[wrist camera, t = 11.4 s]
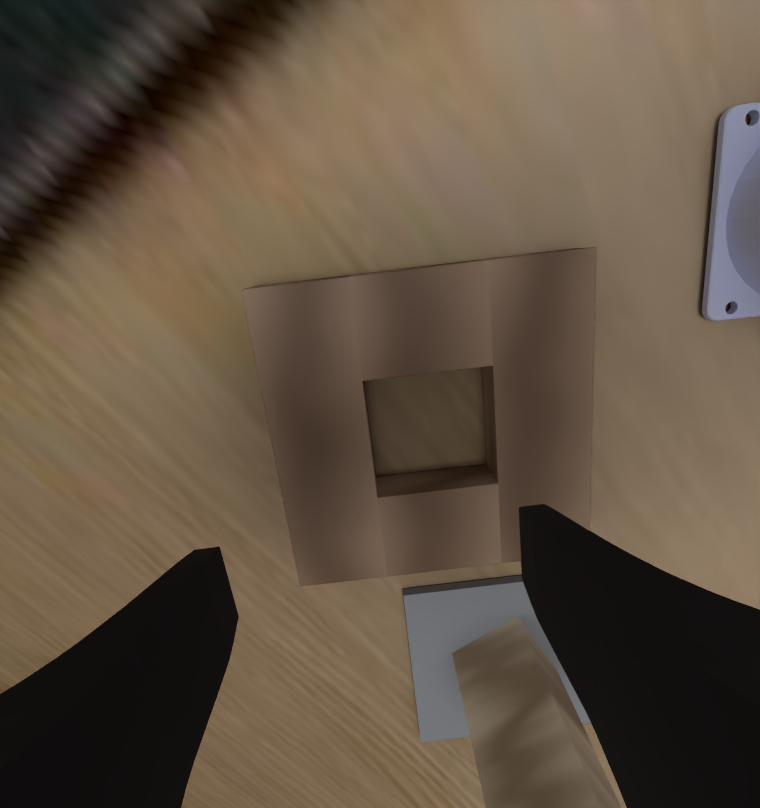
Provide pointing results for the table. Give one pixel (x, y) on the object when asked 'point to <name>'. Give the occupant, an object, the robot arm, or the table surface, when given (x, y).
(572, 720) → the maple plug
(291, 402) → the brown square hole board
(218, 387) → the table surface
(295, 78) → the table surface
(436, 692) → the pad
